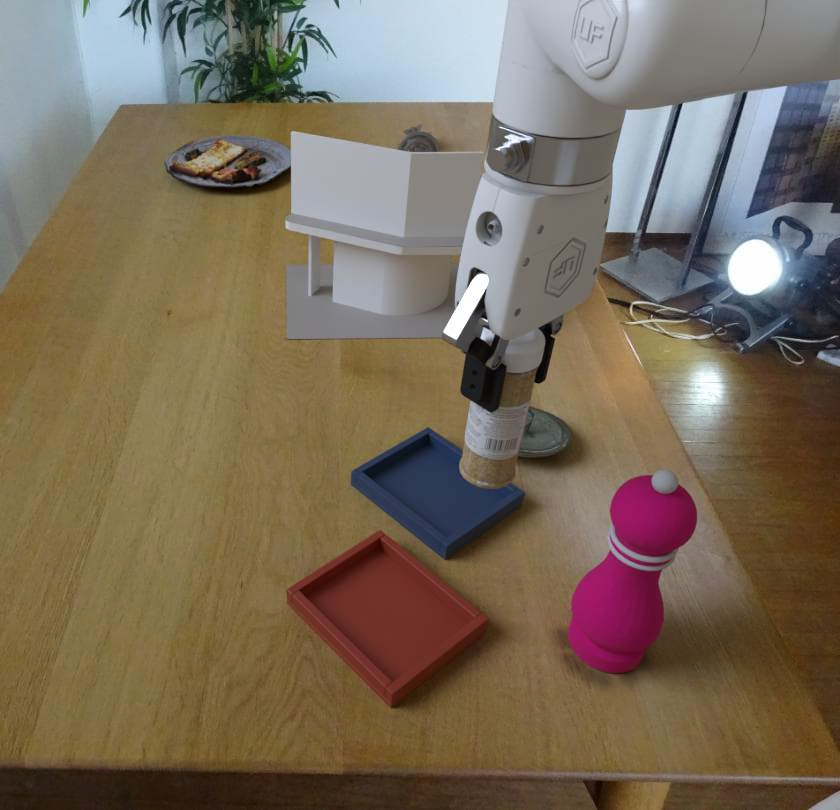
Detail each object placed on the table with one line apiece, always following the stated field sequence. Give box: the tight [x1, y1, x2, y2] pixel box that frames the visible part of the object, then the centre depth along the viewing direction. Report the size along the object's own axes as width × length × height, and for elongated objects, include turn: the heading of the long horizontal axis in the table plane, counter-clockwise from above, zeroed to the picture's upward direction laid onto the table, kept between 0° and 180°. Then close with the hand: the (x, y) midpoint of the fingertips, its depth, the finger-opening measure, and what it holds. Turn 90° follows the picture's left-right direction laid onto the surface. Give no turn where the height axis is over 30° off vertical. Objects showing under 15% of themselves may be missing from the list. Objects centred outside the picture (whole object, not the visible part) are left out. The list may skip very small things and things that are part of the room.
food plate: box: [164, 134, 291, 190], centre depth 154 cm, size 25×23×4 cm
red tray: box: [286, 529, 489, 709], centre depth 72 cm, size 14×12×2 cm
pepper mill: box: [567, 469, 698, 674], centre depth 64 cm, size 7×7×20 cm
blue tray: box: [350, 426, 526, 560], centre depth 84 cm, size 14×12×2 cm
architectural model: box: [285, 130, 485, 340], centre depth 110 cm, size 28×21×23 cm
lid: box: [518, 405, 573, 458], centre depth 90 cm, size 11×10×5 cm
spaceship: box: [397, 123, 441, 152], centre depth 152 cm, size 8×35×8 cm
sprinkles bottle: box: [459, 327, 545, 489], centre depth 61 cm, size 5×5×14 cm
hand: (503, 385), depth 60 cm, fingers closed on sprinkles bottle, 4 cm apart
